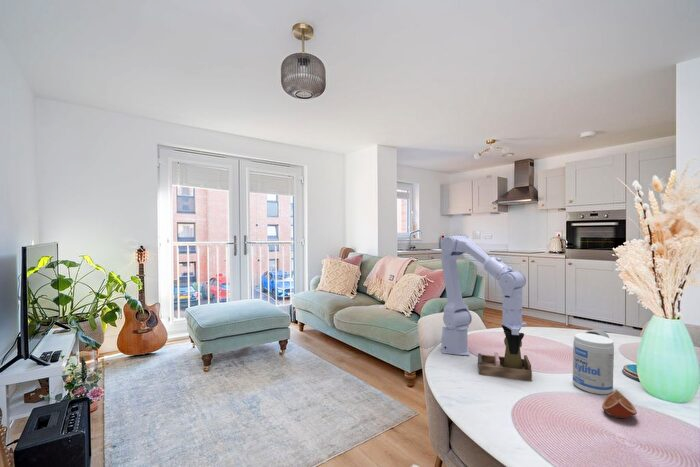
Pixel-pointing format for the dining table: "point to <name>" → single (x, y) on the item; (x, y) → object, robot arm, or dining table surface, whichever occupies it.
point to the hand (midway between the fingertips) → (512, 350)
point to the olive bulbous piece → (512, 358)
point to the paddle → (497, 360)
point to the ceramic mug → (598, 332)
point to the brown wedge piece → (618, 405)
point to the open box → (503, 368)
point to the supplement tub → (593, 363)
